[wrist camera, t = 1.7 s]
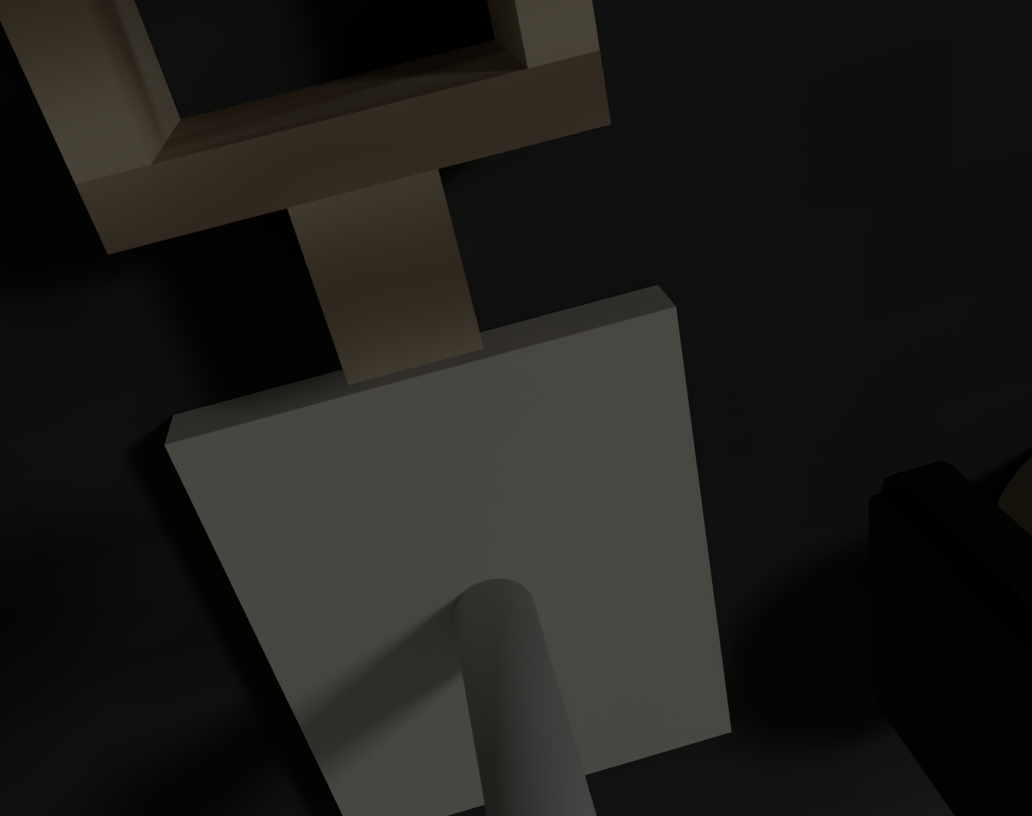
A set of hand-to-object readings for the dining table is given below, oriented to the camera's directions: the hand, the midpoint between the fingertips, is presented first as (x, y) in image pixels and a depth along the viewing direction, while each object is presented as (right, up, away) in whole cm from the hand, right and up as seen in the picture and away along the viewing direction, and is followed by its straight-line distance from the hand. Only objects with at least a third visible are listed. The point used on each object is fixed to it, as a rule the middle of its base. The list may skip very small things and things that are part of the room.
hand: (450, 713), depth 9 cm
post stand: (0, -2, +19) cm, 19 cm away
